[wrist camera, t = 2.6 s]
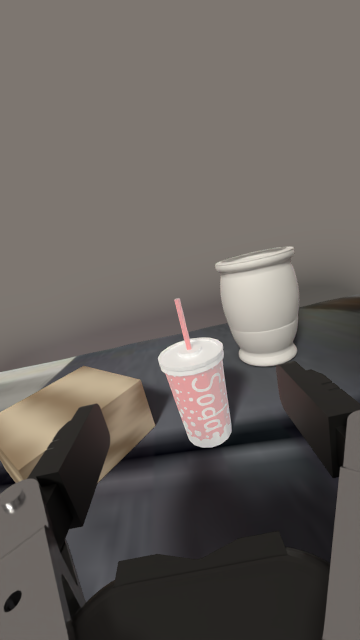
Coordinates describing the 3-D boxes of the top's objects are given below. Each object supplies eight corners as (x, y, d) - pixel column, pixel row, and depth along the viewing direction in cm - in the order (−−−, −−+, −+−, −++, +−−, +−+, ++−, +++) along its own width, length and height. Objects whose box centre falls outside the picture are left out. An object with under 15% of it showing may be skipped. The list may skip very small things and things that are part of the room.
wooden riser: (97, 402, 35) (83, 365, 33) (155, 426, 27) (140, 379, 26) (5, 468, 27) (-20, 423, 25) (50, 529, 19) (18, 470, 17)
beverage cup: (180, 460, 22) (137, 316, 18) (180, 415, 28) (147, 299, 24) (246, 447, 22) (216, 297, 18) (232, 405, 28) (207, 285, 24)
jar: (246, 338, 44) (231, 255, 40) (309, 339, 38) (300, 241, 34) (222, 368, 36) (200, 268, 32) (298, 376, 30) (284, 253, 26)
